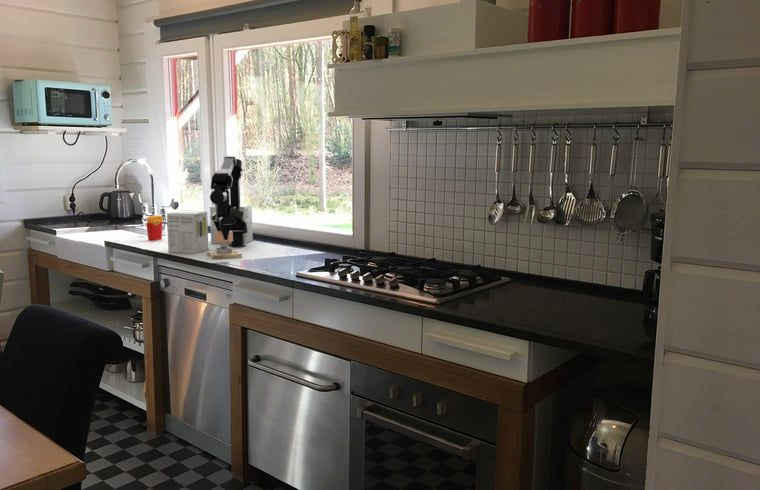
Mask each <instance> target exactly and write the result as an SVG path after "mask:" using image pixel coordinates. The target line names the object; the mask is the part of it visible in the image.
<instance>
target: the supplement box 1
mask: <svg viewBox="0 0 760 490" xmlns="http://www.w3.org/2000/svg"><path fill="white" fill-rule="evenodd" d="M208 221H209V220H208V211H207V210H186V209H185V210H184V209H182V210H176V211H171V212H167V213H166V225H167V247H168V249H167V252H169V253H180V252H183V254H196V253H200V252H203V251H205V250H208V249H209V229H208V228H209V225H208V224H209V223H208Z"/></svg>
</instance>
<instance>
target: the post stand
mask: <svg viewBox="0 0 760 490" xmlns="http://www.w3.org/2000/svg"><path fill="white" fill-rule="evenodd" d="M206 256H208V257H209V258H211V259H212V258H213V259H212V260H220V259H222V258H224V259H234V257H238V258H242V257H243V254H242V252H240V251H238V250H236V249H233V247H231V246H228V244H227V242H221V243H220V246H218V247H216V250H208V251H206ZM222 260H223V259H222Z"/></svg>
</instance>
